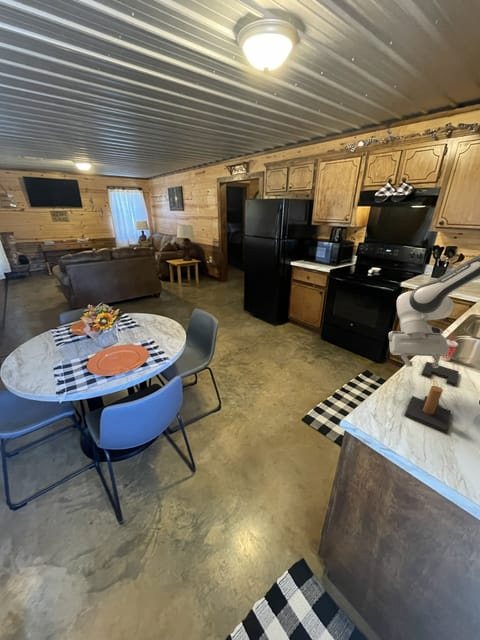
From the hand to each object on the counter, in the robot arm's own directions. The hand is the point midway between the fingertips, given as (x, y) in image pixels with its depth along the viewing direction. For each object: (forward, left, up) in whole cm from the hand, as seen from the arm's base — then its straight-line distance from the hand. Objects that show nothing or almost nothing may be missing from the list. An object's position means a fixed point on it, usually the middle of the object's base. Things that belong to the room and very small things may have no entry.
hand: (422, 366), depth 97 cm
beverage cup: (-35, -27, -14) cm, 47 cm away
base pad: (-22, -14, -14) cm, 30 cm away
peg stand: (0, +8, -14) cm, 16 cm away
